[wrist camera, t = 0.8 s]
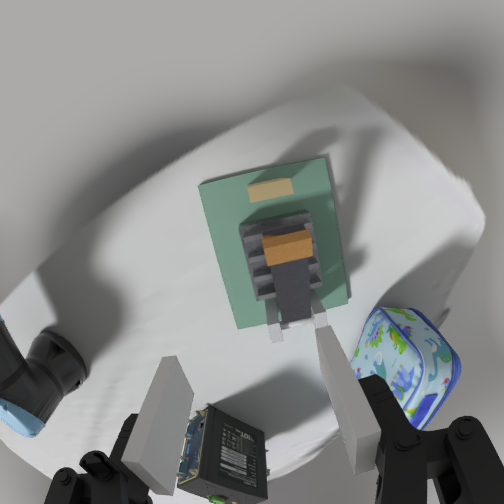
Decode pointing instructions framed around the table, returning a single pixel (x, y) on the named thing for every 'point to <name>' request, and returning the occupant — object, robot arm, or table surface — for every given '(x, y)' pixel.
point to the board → (264, 206)
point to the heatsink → (256, 255)
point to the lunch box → (408, 361)
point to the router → (223, 460)
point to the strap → (290, 269)
